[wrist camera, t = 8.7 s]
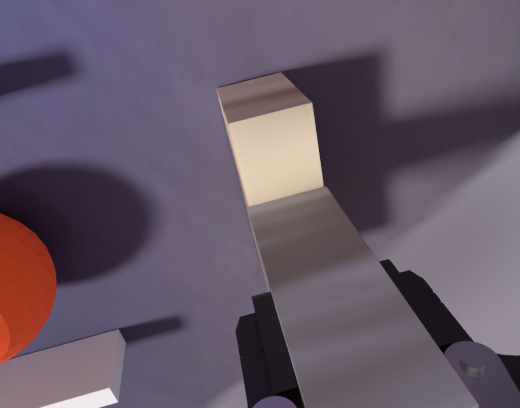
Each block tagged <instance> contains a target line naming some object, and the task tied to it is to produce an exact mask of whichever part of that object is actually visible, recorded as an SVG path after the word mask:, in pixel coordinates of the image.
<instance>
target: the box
mask: <svg viewBox="0 0 520 408" xmlns="http://www.w3.org/2000/svg"><path fill="white" fill-rule="evenodd" d="M125 346H126V342H125V340H124V338H123V336H122V335H121V333H120V331H119V329H117V330H114V331H110V332H106V333H103V334H99V335H96V336H92V337H88V338H85V339H81V340H78V341H74V342H70V343H67V344H63V345H60V346H56V347H52V348H49V349H45V350H42V351H38V352H34V353H31V354H27V355H24V356H20V357H16V358H13V359H10V360H8V361H7V362H5V363H3V364H0V408H99V407H103V406H106V405H110V404H113V403H117V402H118V399H119V391H120V384H121V376H122V369H123V361H124V354H125Z"/></svg>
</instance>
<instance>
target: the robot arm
mask: <svg viewBox="0 0 520 408" xmlns="http://www.w3.org/2000/svg"><path fill="white" fill-rule="evenodd" d="M379 263H380V264H381V265H382V267H383V268H384V270H385V271H386V273H387V274H388V276H389V277H390V278H391V280H392V281H393V283H394V284H395V286H396V287H397V288H398V290H399V291H400V293H401V294H402V296H403V297H404V298H405V300H406V301H407V303H408V304H409V306H410V307H411V309H412V310H413V311H414V313H415V314H416V316H417V317H418V319H419V320H420V321H421V323H422V324H423V326H424V327H425V329H426V330H427V332H428V333H429V334H430V336H431V337H432V339H433V340H434V342H435V343H436V344H437V346H438V347H439V349H440V350H441V352H442V353H443V354H444V356H445V357H446V359H447V360H448V362H449V363H450V365H451V366H452V367H453V369H454V370H455V372H456V373H457V375H458V376H459V377H460V379H461V380H462V382H463V383H464V385H465V386H466V387H467V389H468V390H469V392H470V393H471V395H472V396H473V398H474V399H475V400H476V402H477V403H478V405H479V407H478V408H520V356H513V355H501V354H496V353H495V352H494V351H493V350H491V349H490V348H488V347H487V346H485V345H483V344H480V343H477V342H474V341H473V340H472V339H471V338H470V337H469V335H468V334H467V333H466V331H465V330H464V329H463V328H462V327H461V325H460V324H459V323H458V321H457V320H456V319H455V318H454V316H453V315H452V314H451V313H450V311H449V310H448V309H447V308H446V307H445V305H444V304H443V303H441V301H440V299H439V298H438V296H437V295H436V294H435V293H433V290H432V289H431V288H430V286H429V285H428V284H427V283H426V281H425V280H424V279H423V278H421V277H420V276H418V275H416V274H415V273H413V272H411V271H410V270H408V271H405V272H401V273H399V272H398V270H397V269H396V268H395V266H394V265H393V263H392V262H391V261H390V260H389V259H387V260H383V261H379ZM252 300H253V304H254V309H255V313H253V314H249V315H246V316H242V317H240V319H239V322H238V325H237V328H236V336H237V342H238V347H239V354H240V359H241V366H242V372H243V379H244V385H245V391H246V397H247V403H248V408H304V406H303V402H302V398H301V394H300V389H299V386H298V382H297V379H296V375H295V372H294V369H293V365H292V362H291V358H290V355H289V352H288V348H287V345H286V341H285V338H284V335H283V331H282V328H281V324H280V321H279V318H278V314H277V311H276V308H275V304H274V301H273V297H272V294H271V291H270V292H266V293H263V294H259V295H256V296H252Z"/></svg>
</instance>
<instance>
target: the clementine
mask: <svg viewBox="0 0 520 408" xmlns="http://www.w3.org/2000/svg"><path fill="white" fill-rule="evenodd" d="M56 288H57V282H56V270H55V267H54V264H53V261H52V259H51V256H50V254H49V252H48V250H47V247H46V246H45V244H44V243H43V242H42V241H41V240H40V238H39V237H38V236H37V235H36V234H35V233H34V232H33V231H31V230H30V229H29V228H27V227H26V226H25V225H23V224H22V223H21V222H18V221H16V220H14V219H12V218H10V217H8V216H5V215H3V214H0V364H3V363H5V362H7V361H8V360H10V359H11V358H12V357H14V356H15V355H16V354H18V353H19V352H20V351H21V350H23V349H24V348H25V347H26V346H27V345H28V344H30V343H31V342H32V341H33V340H34V338H35V337H36V336H37V334H38V333H39V332H40V330H41V329H42V327H43V326H44V324H45V322H46V321H47V319H48V317H49V316H50V314H51V310H52V307H53V303H54V300H55V294H56Z"/></svg>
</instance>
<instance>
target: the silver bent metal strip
mask: <svg viewBox="0 0 520 408" xmlns="http://www.w3.org/2000/svg"><path fill="white" fill-rule="evenodd" d="M216 90H217V94H218V97H219V101H220V105H221V109H222V113H223V117H224V121H225V125H226V129H227V133H228V137H229V141H230V145H231V149H232V152H233V156H234V160H235V164H236V168H237V172H238V176H239V180H240V184H241V188H242V192H243V196H244V200H245V204H246V207H247V211H248V215H249V219H250V223H251V227H252V231H253V235H254V239H255V243H256V247H257V251H258V255H259V259H260V262H261V266H262V270H263V274H264V277H265V281H266V284H267V288H268V291H269V292H270V291H271V294H272V297H273V301H274V304H275V308H276V311H277V314H278V318H279V321H280V324H281V328H282V331H283V335H284V338H285V341H286V345H287V348H288V352H289V355H290V358H291V362H292V365H293V369H294V372H295V375H296V379H297V382H298V386H299V389H300V394H301V398H302V402H303V406H304V408H478V407H479V405H478V403H477V402H476V400H475V399H474V398H473V396H472V395H471V393H470V392H469V390H468V389H467V387H466V386H465V385H464V383H463V382H462V380H461V379H460V377H459V376H458V375H457V373H456V372H455V370H454V369H453V367H452V366H451V365H450V363H449V362H448V360H447V359H446V357H445V356H444V354H443V353H442V352H441V350H440V349H439V347H438V346H437V344H436V343H435V342H434V340H433V339H432V337H431V336H430V334H429V333H428V332H427V330H426V329H425V327H424V326H423V324H422V323H421V321H420V320H419V319H418V317H417V316H416V314H415V313H414V311H413V310H412V309H411V307H410V306H409V304H408V303H407V301H406V300H405V298H404V297H403V296H402V294H401V293H400V291H399V290H398V288H397V287H396V286H395V284H394V283H393V281H392V280H391V278H390V277H389V276H388V274H387V273H386V271H385V270H384V268H383V267H382V265H381V264H380V263H379V261H378V260H377V258H376V257H375V255H374V254H373V253H372V251H371V250H370V248H369V247H368V245H367V244H366V243H365V241H364V240H363V238H362V237H361V235H360V234H359V232H358V231H357V230H356V228H355V227H354V225H353V224H352V222H351V221H350V220H349V218H348V217H347V215H346V214H345V212H344V211H343V209H342V208H341V207H340V205H339V204H338V202H337V201H336V199H335V198H334V197H333V195H332V194H331V192H330V191H329V189H328V188H327V187H326V186H325V187H324V185H323V177H322V170H321V163H320V156H319V148H318V141H317V134H316V127H315V120H314V112H313V105H312V102H311V101H310V100H309V99H308V98H307V97H306V96H305V95H304V94H303V93H302V92H301V91H300V90H299V89H298V88H297V87H296V86H295V85H294V84H293V83H292V82H291V81H289V80H288V79H287V78H286V77H285V76H284V75H283V74H282V73H281V72H280V73H276V74H272V75H268V76H264V77H260V78H256V79H252V80H248V81H244V82H240V83H236V84H232V85H228V86H224V87H220V88H216Z"/></svg>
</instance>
